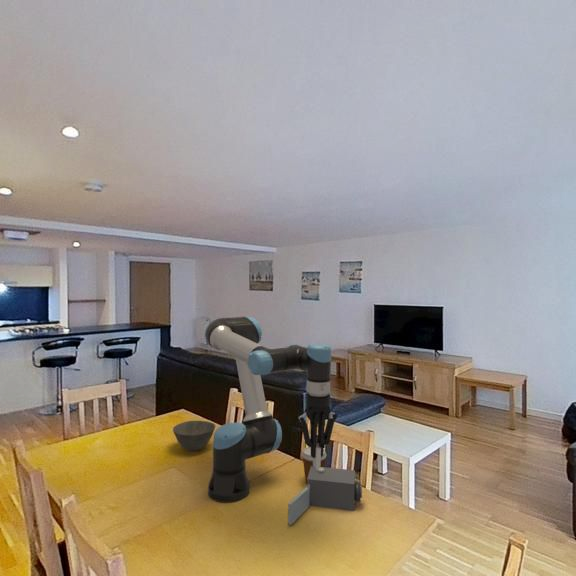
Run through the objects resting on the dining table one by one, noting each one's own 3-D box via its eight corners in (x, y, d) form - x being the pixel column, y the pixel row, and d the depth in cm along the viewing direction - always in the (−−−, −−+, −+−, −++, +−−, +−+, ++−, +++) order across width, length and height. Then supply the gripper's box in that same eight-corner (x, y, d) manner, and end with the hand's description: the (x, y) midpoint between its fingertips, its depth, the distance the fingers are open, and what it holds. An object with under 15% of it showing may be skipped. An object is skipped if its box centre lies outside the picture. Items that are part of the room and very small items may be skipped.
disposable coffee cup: (324, 489, 147) (325, 457, 147) (299, 487, 149) (299, 455, 148) (327, 477, 156) (327, 447, 156) (303, 475, 158) (303, 444, 158)
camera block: (306, 505, 136) (307, 476, 136) (310, 490, 146) (311, 463, 146) (361, 511, 133) (362, 481, 133) (361, 496, 143) (362, 468, 143)
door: (306, 504, 136) (306, 483, 136) (310, 506, 135) (310, 485, 135) (286, 524, 125) (286, 501, 125) (291, 525, 124) (291, 502, 124)
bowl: (223, 446, 185) (223, 424, 185) (193, 461, 169) (193, 438, 169) (194, 437, 195) (194, 417, 195) (163, 451, 179) (164, 428, 179)
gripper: (303, 398, 121) (301, 475, 121) (342, 395, 125) (340, 469, 125) (294, 391, 128) (293, 464, 128) (331, 388, 132) (330, 458, 132)
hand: (316, 466), depth 127 cm, fingers closed
